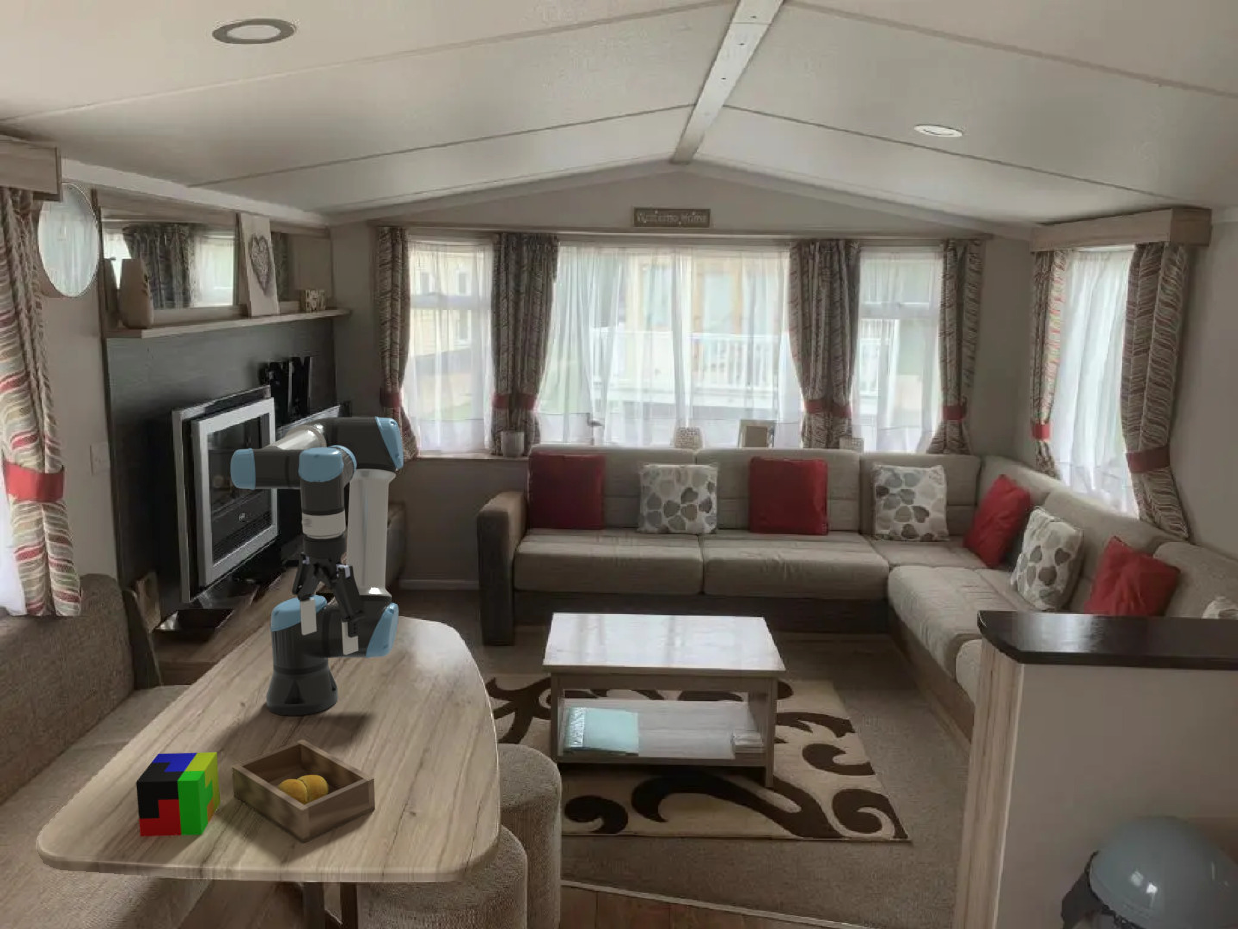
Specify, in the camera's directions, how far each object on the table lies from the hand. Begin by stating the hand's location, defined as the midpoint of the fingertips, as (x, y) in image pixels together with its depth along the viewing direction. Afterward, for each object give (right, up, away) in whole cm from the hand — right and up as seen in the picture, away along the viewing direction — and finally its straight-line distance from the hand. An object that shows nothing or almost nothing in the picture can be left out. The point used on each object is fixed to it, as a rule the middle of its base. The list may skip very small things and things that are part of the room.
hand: (329, 642), depth 185 cm
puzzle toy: (-22, -29, -13) cm, 38 cm away
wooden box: (-2, -28, -7) cm, 29 cm away
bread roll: (-3, -27, -8) cm, 28 cm away
